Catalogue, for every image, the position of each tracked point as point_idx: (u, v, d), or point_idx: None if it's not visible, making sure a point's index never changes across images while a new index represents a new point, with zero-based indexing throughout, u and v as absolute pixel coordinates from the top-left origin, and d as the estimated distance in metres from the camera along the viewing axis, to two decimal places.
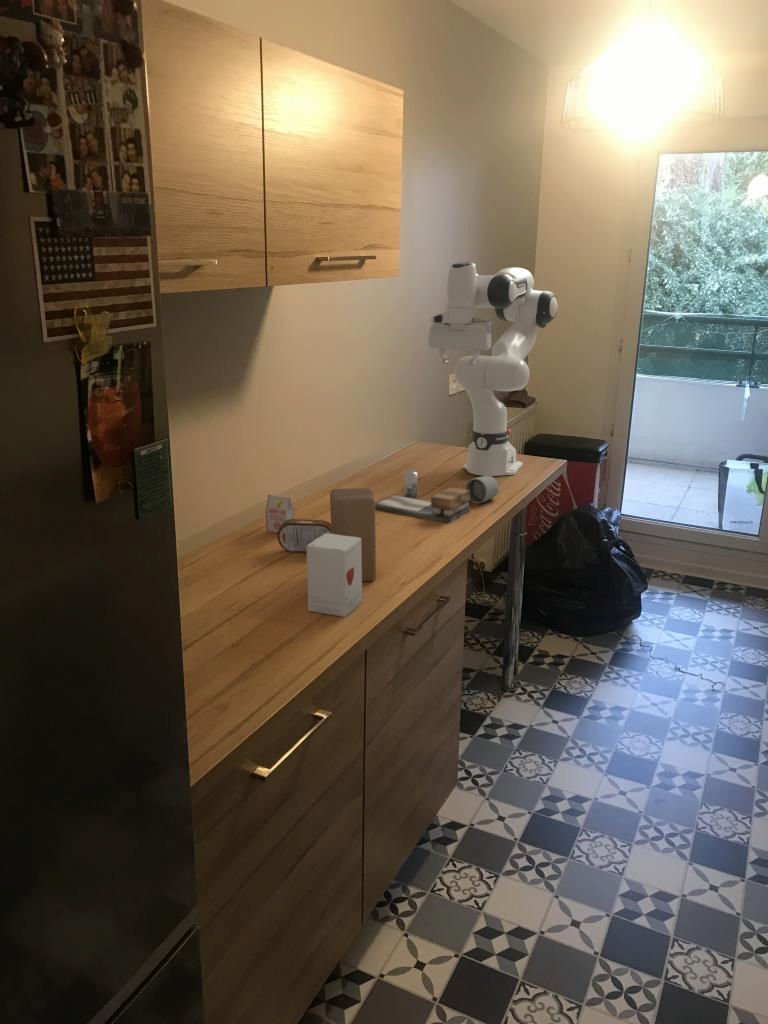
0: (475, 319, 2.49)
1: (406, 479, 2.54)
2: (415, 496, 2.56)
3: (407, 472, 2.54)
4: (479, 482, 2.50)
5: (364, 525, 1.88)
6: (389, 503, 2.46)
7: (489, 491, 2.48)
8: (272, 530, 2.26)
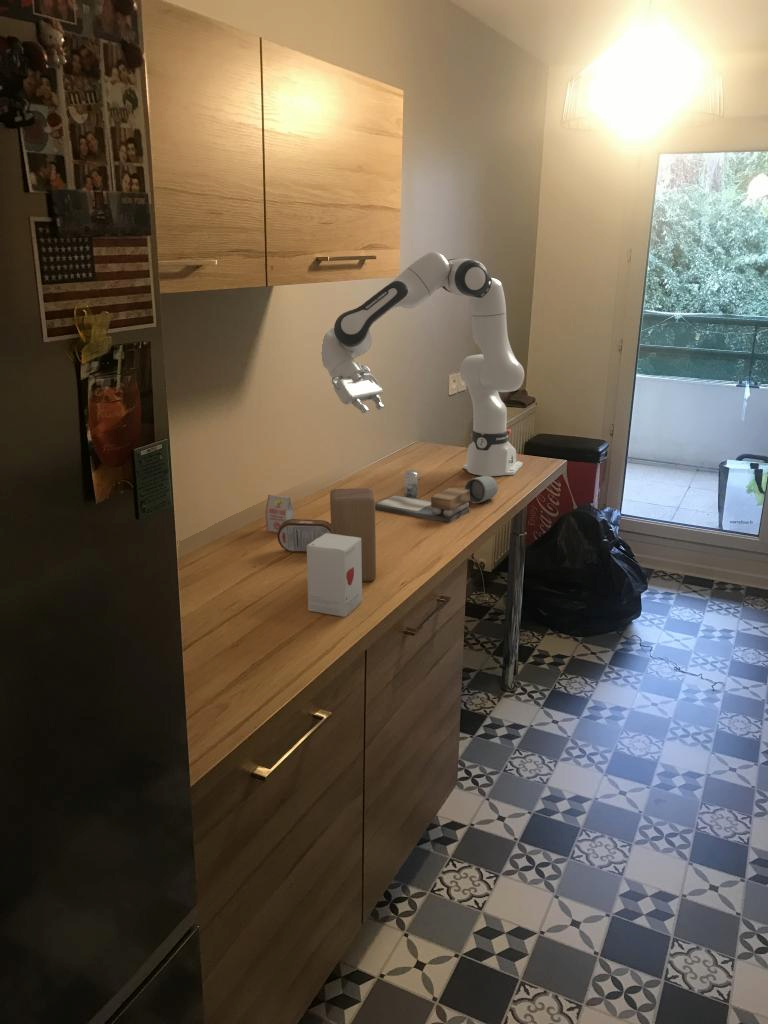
0: None
1: (406, 479, 2.54)
2: (415, 496, 2.56)
3: (407, 472, 2.54)
4: (478, 482, 2.50)
5: (364, 525, 1.88)
6: (389, 503, 2.46)
7: (488, 491, 2.48)
8: (272, 530, 2.26)
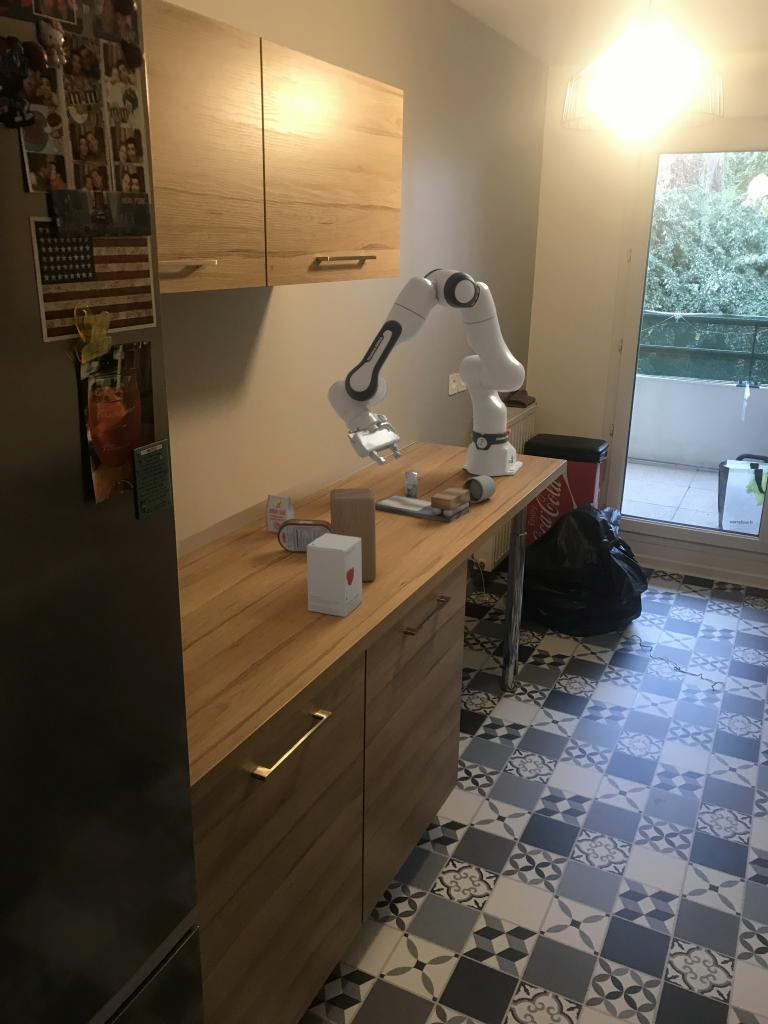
0: None
1: (406, 479, 2.54)
2: (415, 496, 2.56)
3: (407, 472, 2.54)
4: (476, 482, 2.50)
5: (364, 525, 1.88)
6: (389, 503, 2.46)
7: (486, 490, 2.49)
8: (272, 530, 2.26)
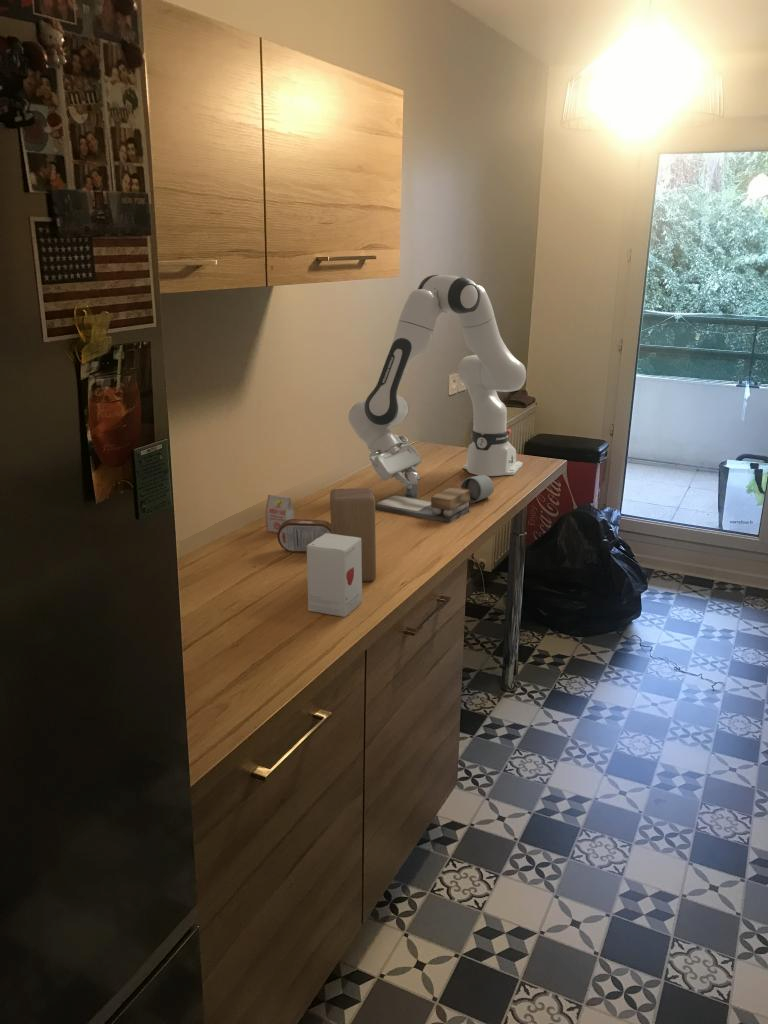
0: None
1: None
2: (415, 496, 2.56)
3: (407, 472, 2.54)
4: (474, 482, 2.51)
5: (364, 525, 1.88)
6: (389, 503, 2.46)
7: (484, 490, 2.49)
8: (272, 530, 2.26)
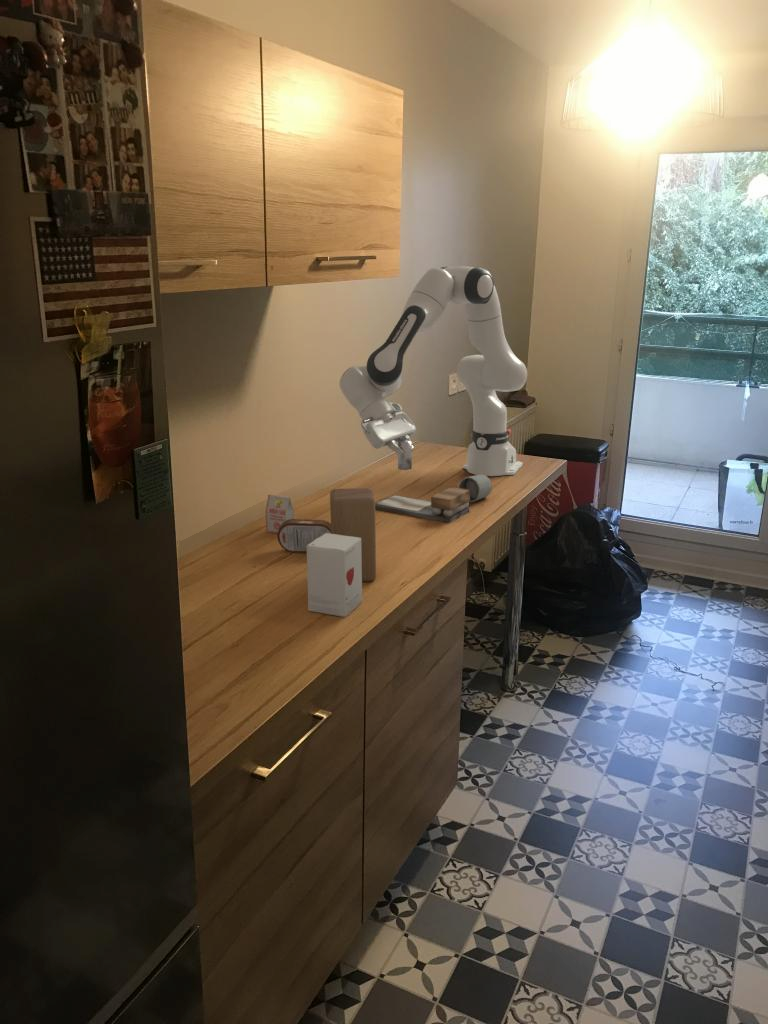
0: None
1: None
2: (409, 467, 2.42)
3: (400, 441, 2.41)
4: (472, 481, 2.51)
5: (364, 525, 1.88)
6: (389, 503, 2.46)
7: (482, 490, 2.50)
8: (272, 530, 2.26)
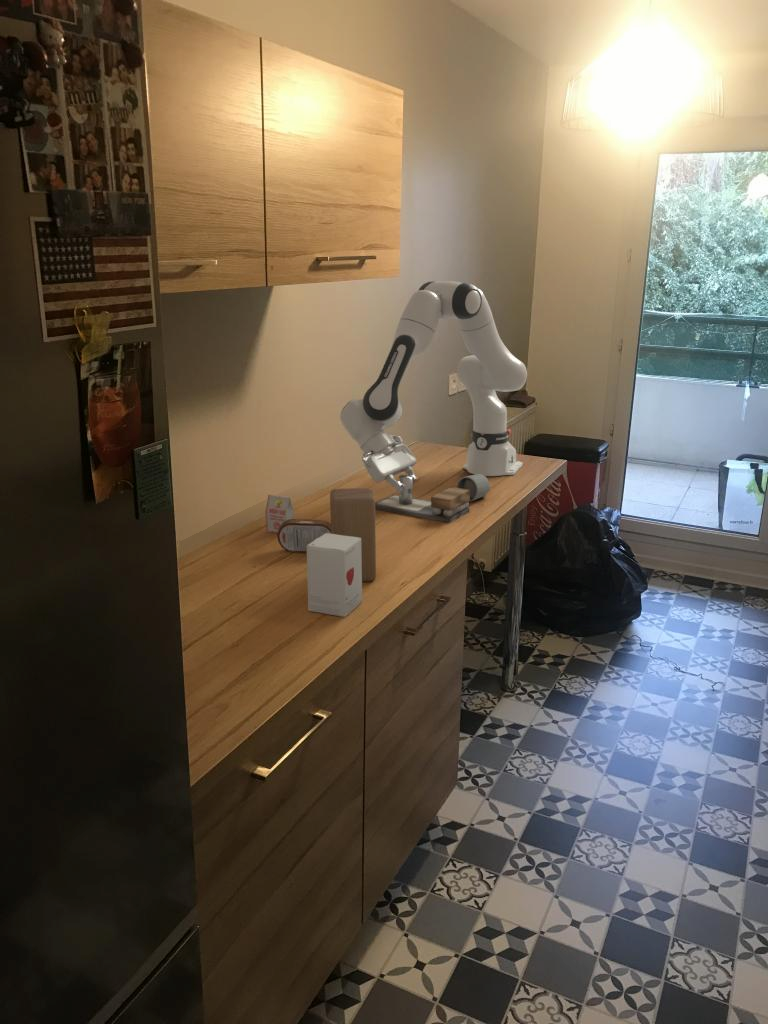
0: None
1: None
2: (410, 502, 2.45)
3: (401, 477, 2.44)
4: (470, 481, 2.52)
5: (364, 525, 1.88)
6: (389, 503, 2.46)
7: (480, 489, 2.50)
8: (272, 530, 2.26)
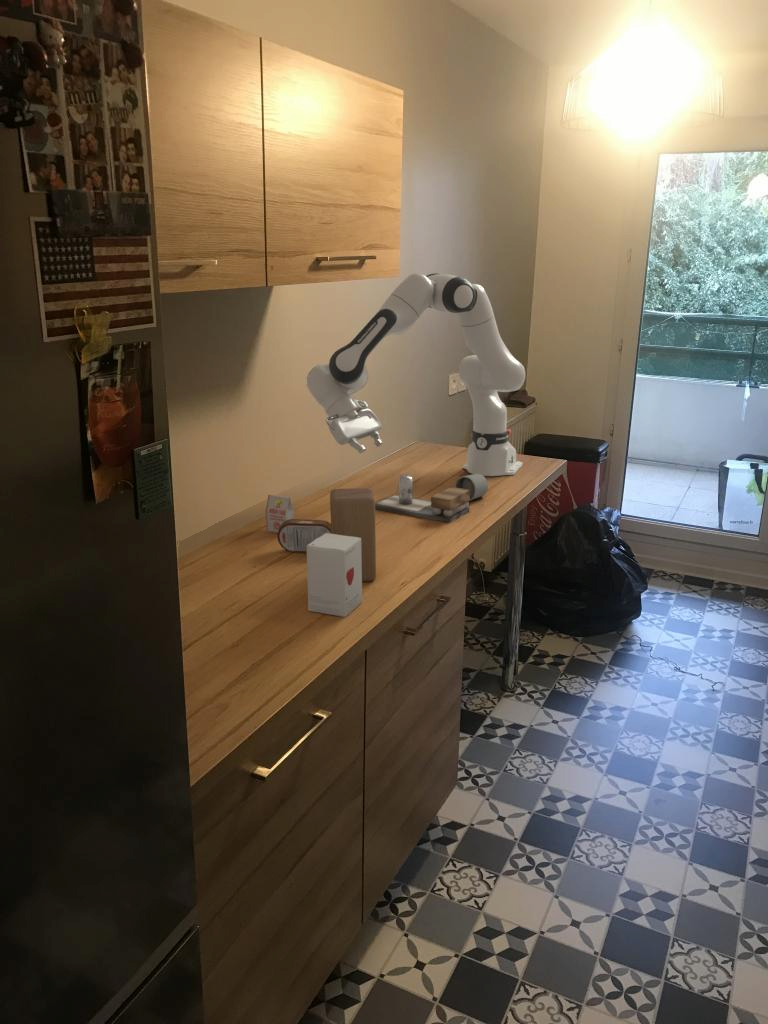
0: None
1: (400, 484, 2.44)
2: (410, 502, 2.45)
3: (401, 477, 2.44)
4: (468, 480, 2.52)
5: (364, 525, 1.88)
6: (389, 503, 2.46)
7: (478, 489, 2.50)
8: (272, 530, 2.26)
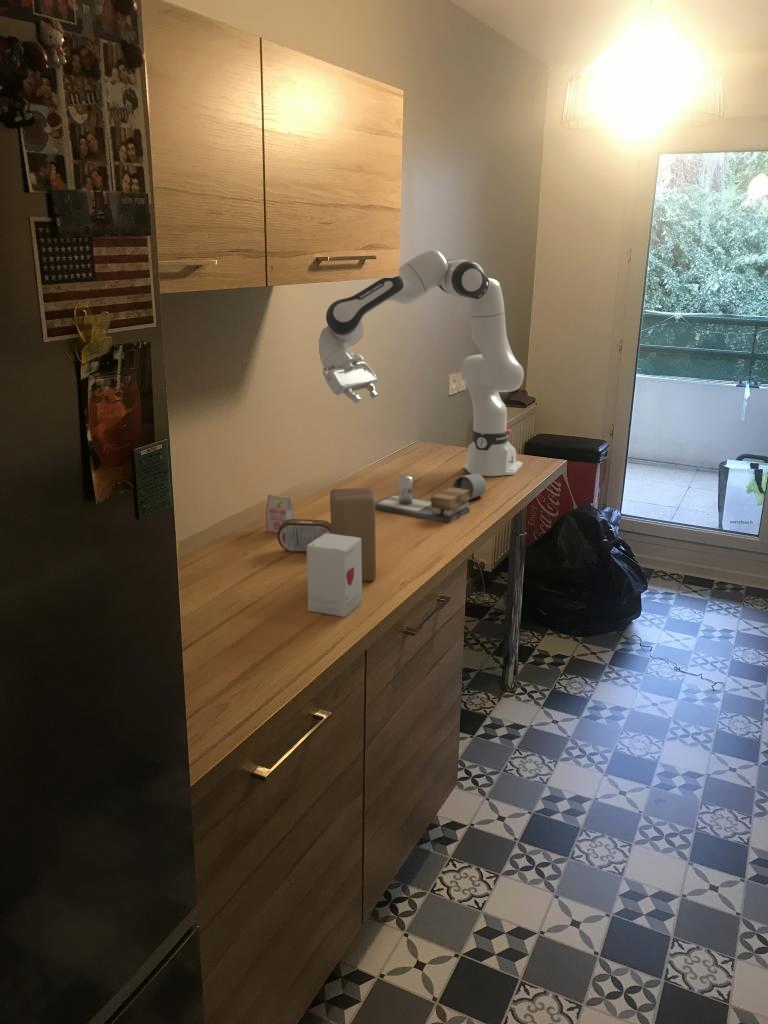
0: None
1: (400, 484, 2.44)
2: (410, 502, 2.45)
3: (401, 477, 2.44)
4: (466, 480, 2.52)
5: (364, 525, 1.88)
6: (389, 503, 2.46)
7: (476, 488, 2.51)
8: (272, 530, 2.26)
